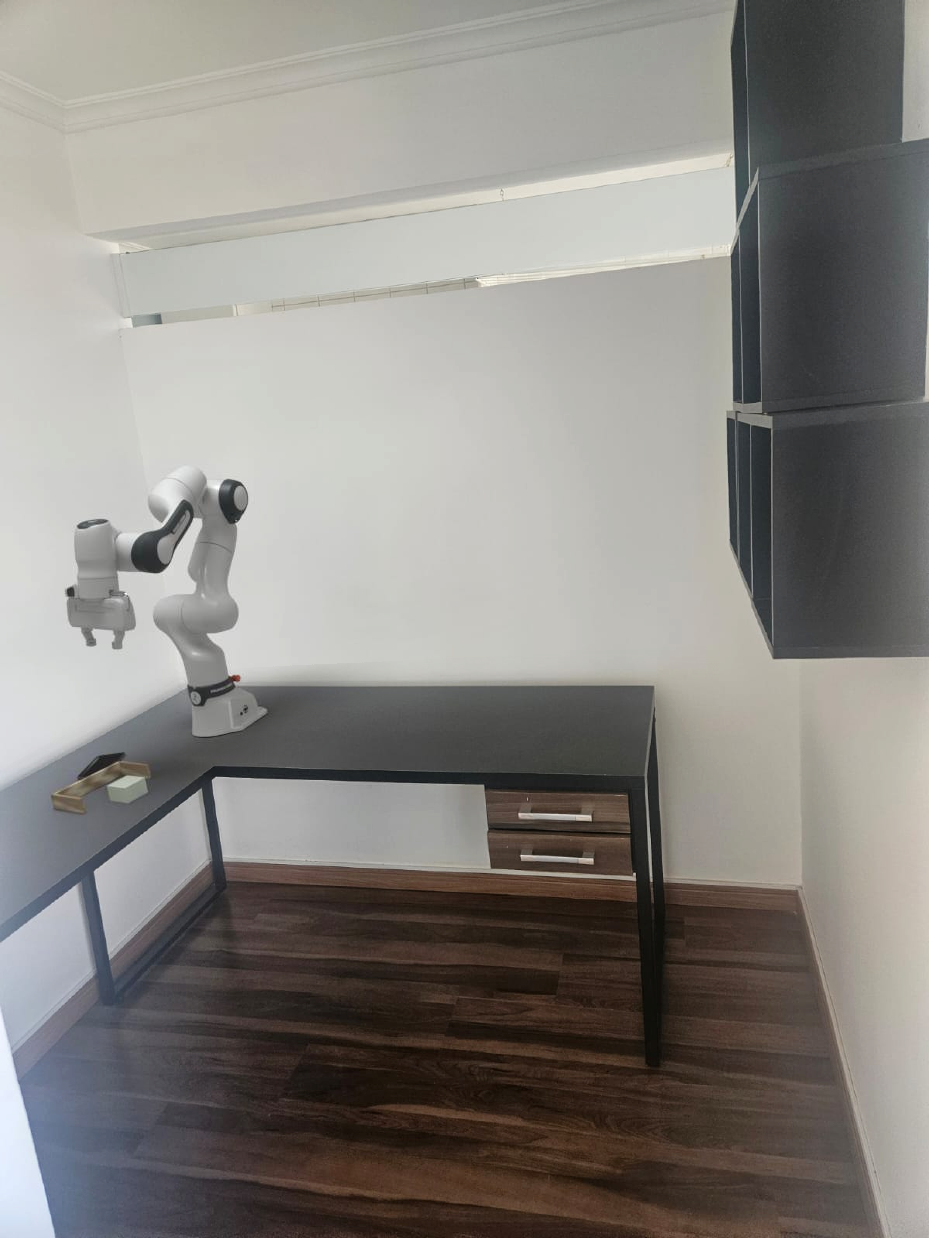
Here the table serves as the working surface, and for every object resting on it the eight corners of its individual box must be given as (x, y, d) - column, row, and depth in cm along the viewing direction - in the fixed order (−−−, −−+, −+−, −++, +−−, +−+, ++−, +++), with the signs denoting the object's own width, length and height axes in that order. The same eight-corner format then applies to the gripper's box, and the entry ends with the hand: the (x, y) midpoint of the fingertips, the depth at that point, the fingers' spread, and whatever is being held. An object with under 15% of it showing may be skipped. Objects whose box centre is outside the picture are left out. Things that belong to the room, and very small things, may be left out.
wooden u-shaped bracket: (122, 773, 219) (119, 760, 218) (151, 777, 214) (148, 764, 213) (54, 808, 202) (50, 794, 201) (83, 813, 197) (79, 799, 196)
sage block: (130, 790, 208) (127, 775, 207) (148, 793, 205) (144, 777, 204) (110, 801, 203) (106, 785, 202) (128, 804, 200) (124, 788, 199)
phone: (75, 778, 218) (97, 755, 233) (76, 782, 218) (98, 759, 233) (106, 773, 218) (126, 751, 233) (107, 778, 218) (127, 755, 233)
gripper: (139, 589, 199) (145, 648, 202) (83, 586, 210) (88, 642, 212) (116, 592, 194) (122, 653, 196) (59, 589, 204) (65, 646, 207)
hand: (104, 647), depth 204 cm, fingers open, 8 cm apart
